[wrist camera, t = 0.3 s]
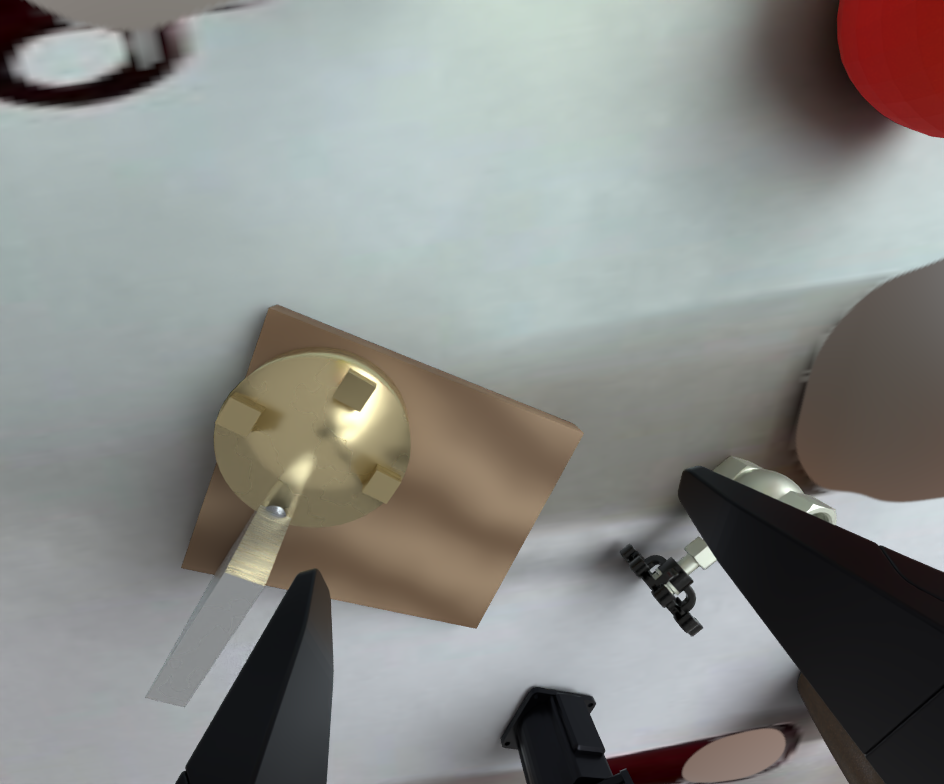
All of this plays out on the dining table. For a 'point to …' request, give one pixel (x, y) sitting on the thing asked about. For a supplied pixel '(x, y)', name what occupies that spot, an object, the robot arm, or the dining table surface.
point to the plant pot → (837, 738)
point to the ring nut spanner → (290, 481)
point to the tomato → (896, 58)
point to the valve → (677, 573)
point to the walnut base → (413, 492)
